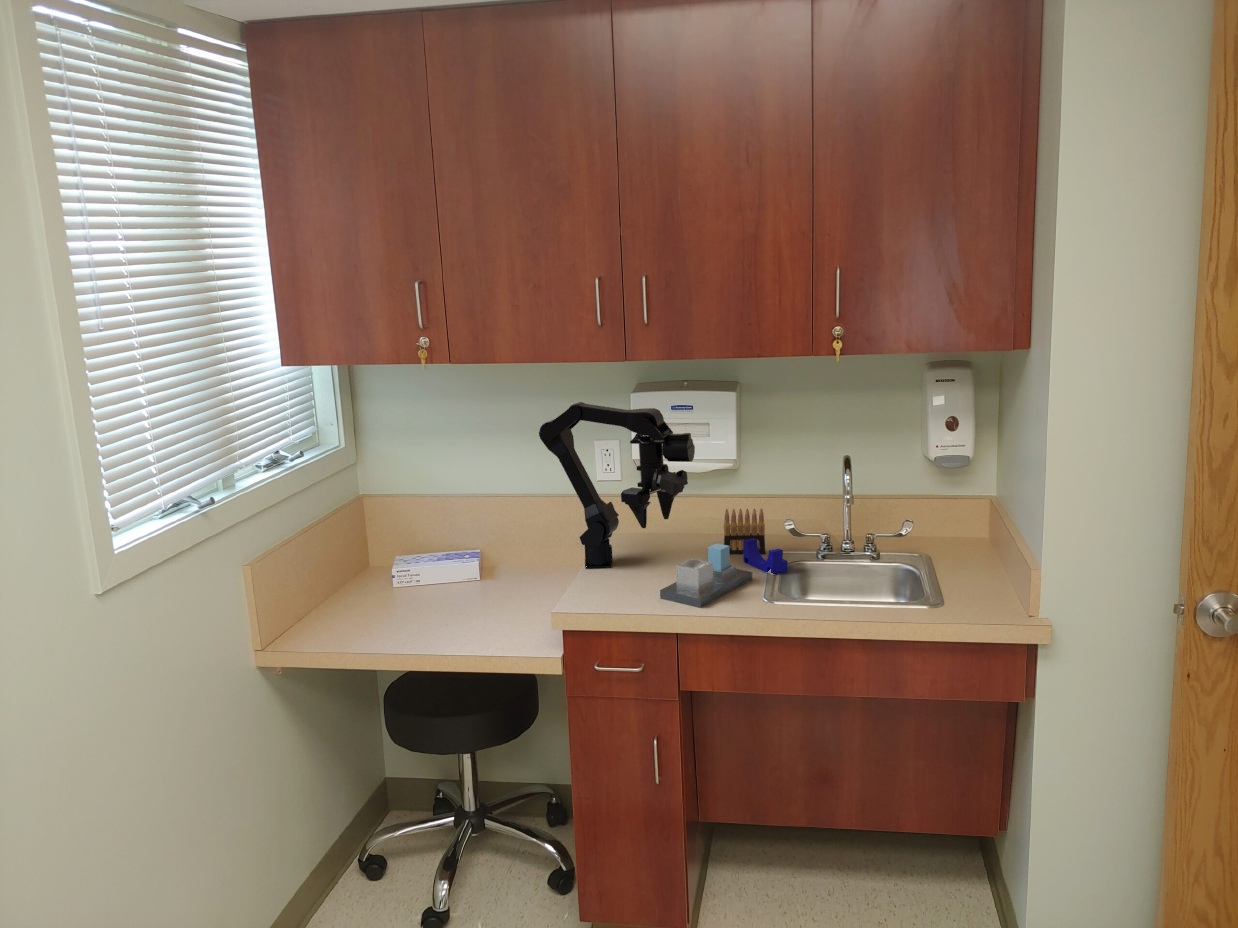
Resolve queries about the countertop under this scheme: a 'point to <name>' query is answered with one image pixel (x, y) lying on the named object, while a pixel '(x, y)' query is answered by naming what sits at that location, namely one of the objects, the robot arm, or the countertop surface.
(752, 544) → the cable clip
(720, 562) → the plug
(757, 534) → the ammunition clip
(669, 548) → the countertop surface
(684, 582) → the grey peg holder base
